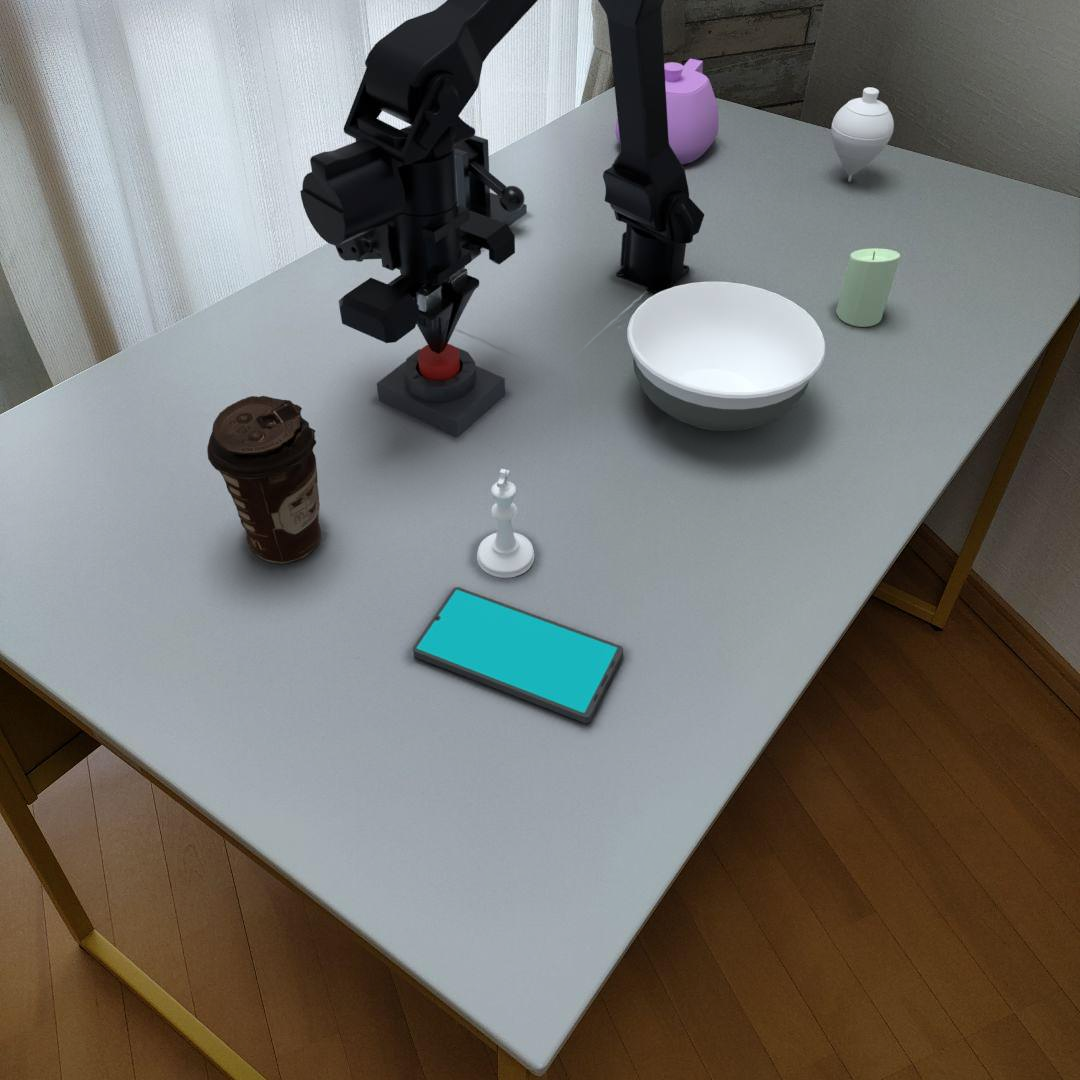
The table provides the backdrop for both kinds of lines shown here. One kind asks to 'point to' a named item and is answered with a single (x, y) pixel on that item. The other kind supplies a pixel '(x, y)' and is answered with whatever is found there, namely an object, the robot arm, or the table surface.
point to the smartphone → (520, 653)
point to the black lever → (493, 181)
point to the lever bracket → (480, 186)
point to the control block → (442, 394)
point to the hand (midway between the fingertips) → (437, 350)
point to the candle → (867, 286)
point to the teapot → (689, 110)
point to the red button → (439, 363)
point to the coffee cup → (269, 475)
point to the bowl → (724, 353)
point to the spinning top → (861, 130)
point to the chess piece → (505, 536)
